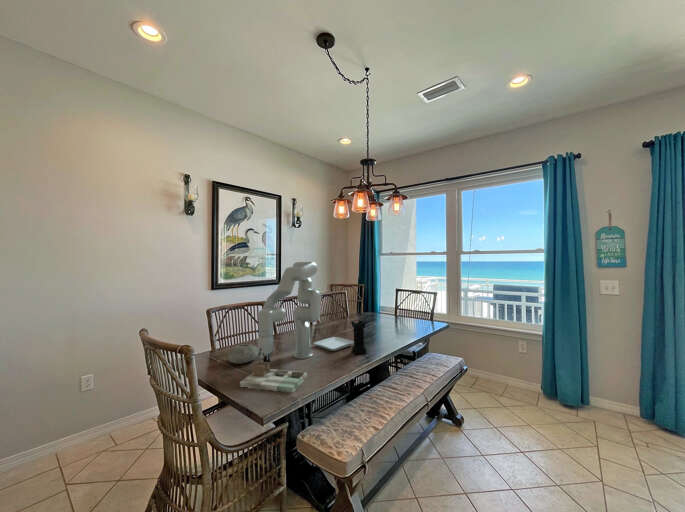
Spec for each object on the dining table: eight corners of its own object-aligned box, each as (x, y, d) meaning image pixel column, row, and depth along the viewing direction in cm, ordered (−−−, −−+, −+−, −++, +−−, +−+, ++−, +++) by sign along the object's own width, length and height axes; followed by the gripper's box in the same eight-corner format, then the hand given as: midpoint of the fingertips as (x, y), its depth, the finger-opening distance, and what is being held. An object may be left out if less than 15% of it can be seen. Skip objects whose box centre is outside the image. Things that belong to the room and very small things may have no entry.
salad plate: (312, 347, 199) (312, 342, 199) (334, 340, 214) (334, 335, 214) (333, 354, 184) (333, 348, 184) (355, 346, 199) (355, 341, 199)
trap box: (259, 372, 156) (259, 367, 156) (307, 376, 149) (307, 372, 149) (240, 387, 138) (239, 382, 139) (292, 393, 131) (292, 387, 131)
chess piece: (367, 353, 182) (366, 322, 182) (356, 355, 179) (355, 324, 179) (362, 350, 189) (361, 320, 189) (351, 351, 186) (350, 321, 186)
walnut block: (259, 370, 152) (259, 361, 152) (269, 371, 150) (269, 362, 150) (253, 375, 146) (253, 365, 146) (263, 376, 145) (263, 366, 145)
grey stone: (245, 354, 186) (245, 339, 186) (265, 359, 176) (264, 343, 177) (221, 363, 170) (221, 347, 170) (241, 369, 161) (241, 351, 161)
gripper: (267, 329, 162) (267, 361, 162) (252, 336, 147) (252, 371, 147) (278, 329, 160) (279, 362, 160) (265, 336, 145) (265, 372, 145)
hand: (266, 366), depth 154 cm, fingers closed
